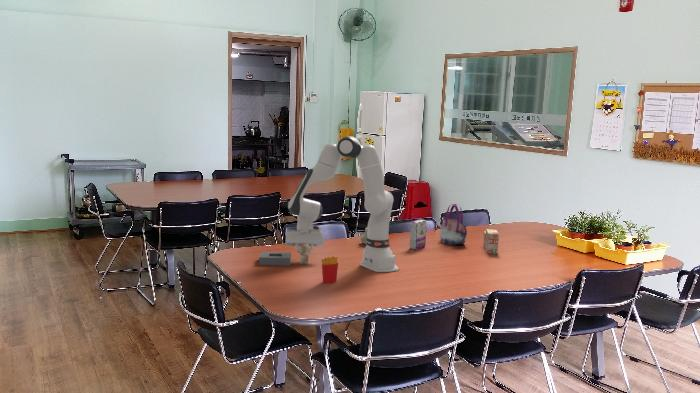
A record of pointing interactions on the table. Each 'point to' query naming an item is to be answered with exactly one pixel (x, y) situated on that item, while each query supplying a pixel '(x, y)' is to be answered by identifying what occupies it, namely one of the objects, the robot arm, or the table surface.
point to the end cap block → (275, 258)
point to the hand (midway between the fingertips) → (304, 252)
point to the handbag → (453, 228)
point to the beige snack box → (491, 241)
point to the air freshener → (364, 236)
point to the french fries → (329, 269)
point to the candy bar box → (417, 234)
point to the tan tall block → (304, 253)
